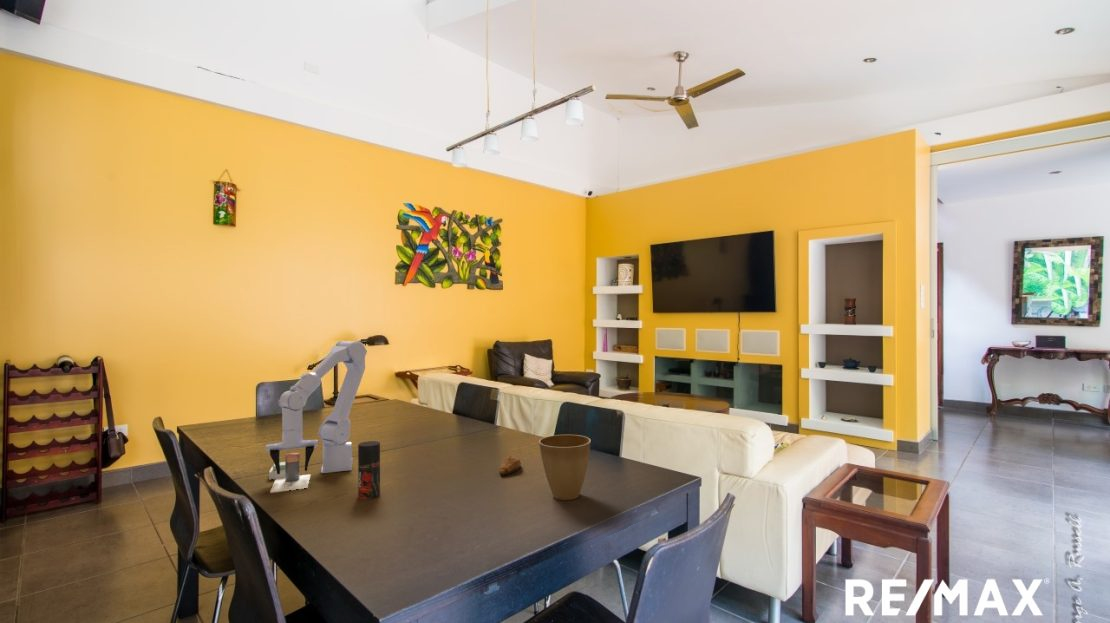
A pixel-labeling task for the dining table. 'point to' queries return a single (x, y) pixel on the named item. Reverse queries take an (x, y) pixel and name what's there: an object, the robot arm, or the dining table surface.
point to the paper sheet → (290, 484)
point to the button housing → (274, 474)
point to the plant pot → (565, 463)
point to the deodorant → (368, 469)
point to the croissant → (509, 465)
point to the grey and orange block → (292, 467)
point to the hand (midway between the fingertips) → (292, 471)
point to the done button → (282, 466)
